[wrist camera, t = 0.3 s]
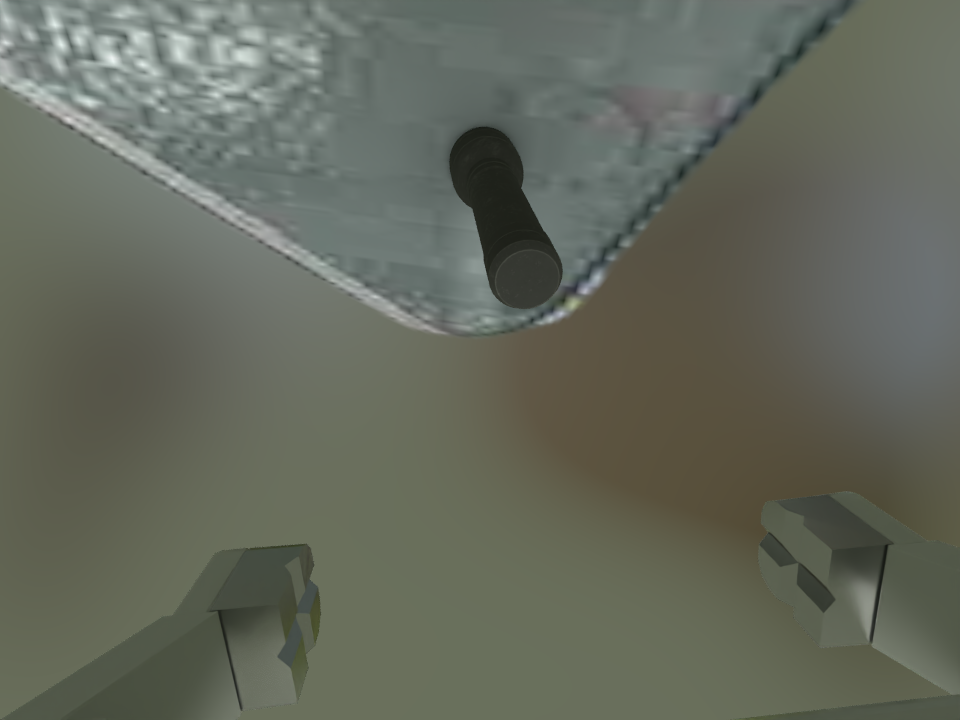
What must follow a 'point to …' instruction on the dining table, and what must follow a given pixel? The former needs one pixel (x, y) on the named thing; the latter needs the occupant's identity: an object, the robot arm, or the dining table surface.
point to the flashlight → (504, 219)
